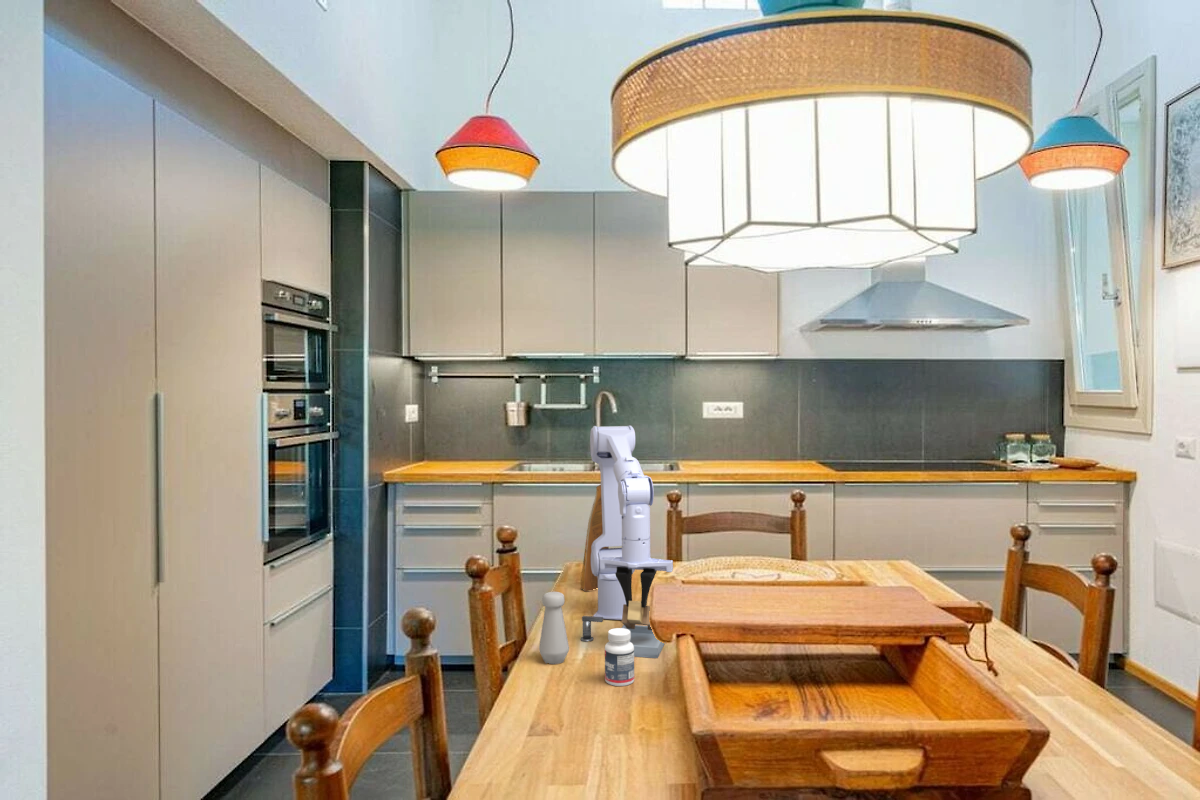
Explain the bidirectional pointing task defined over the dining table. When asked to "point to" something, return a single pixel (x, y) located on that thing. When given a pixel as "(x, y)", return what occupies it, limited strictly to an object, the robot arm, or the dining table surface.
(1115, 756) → the dining table surface
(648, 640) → the tray
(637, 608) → the wooden stool frame
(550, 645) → the salt shaker
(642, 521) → the robot arm
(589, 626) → the grey lever handle
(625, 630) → the pill bottle
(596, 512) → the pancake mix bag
